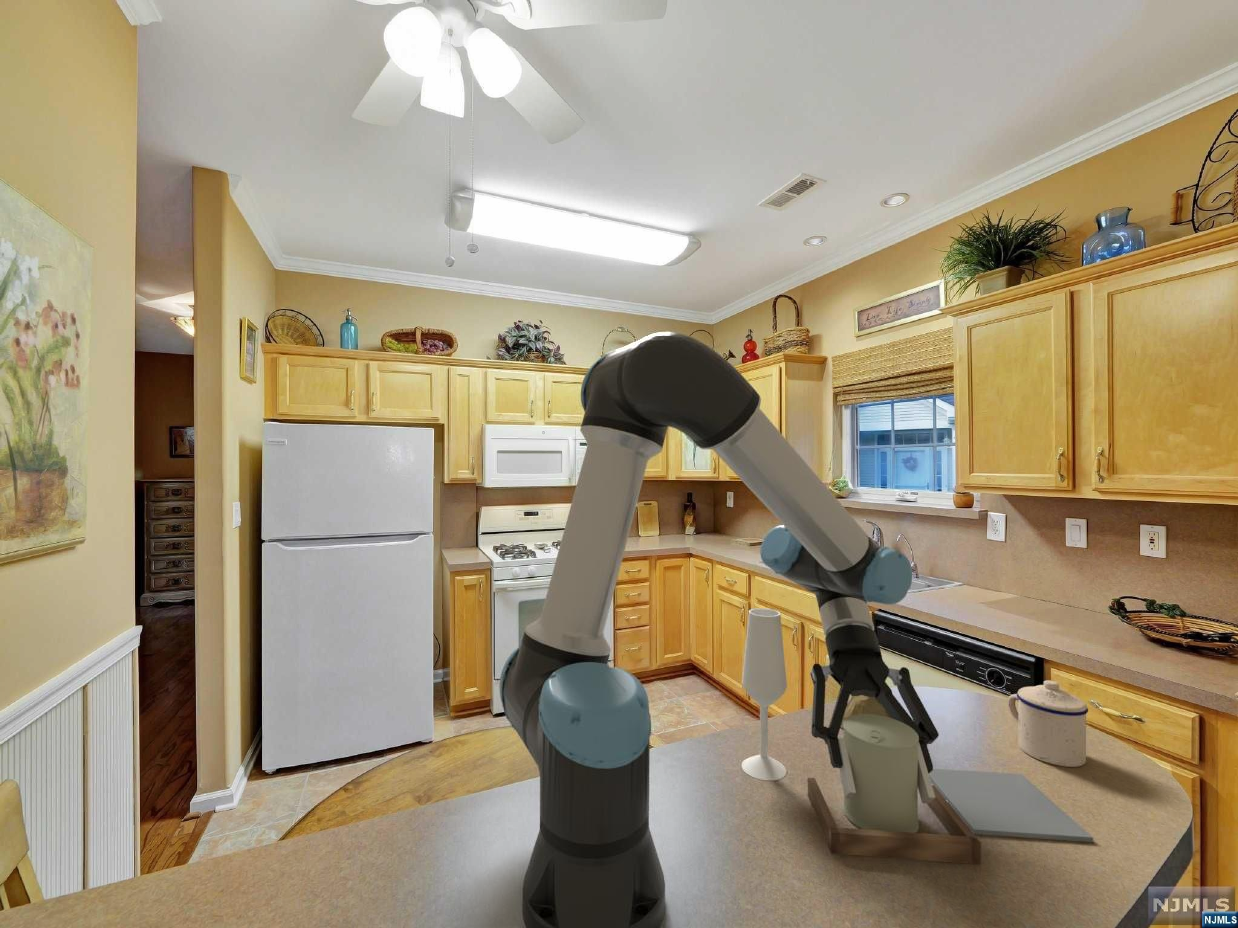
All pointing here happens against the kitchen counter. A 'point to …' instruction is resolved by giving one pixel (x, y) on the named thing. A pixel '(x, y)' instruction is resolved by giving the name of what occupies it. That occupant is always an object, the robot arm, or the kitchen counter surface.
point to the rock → (863, 707)
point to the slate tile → (1005, 805)
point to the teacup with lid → (1050, 724)
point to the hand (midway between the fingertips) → (889, 797)
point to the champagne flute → (764, 682)
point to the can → (882, 773)
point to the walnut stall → (900, 835)
